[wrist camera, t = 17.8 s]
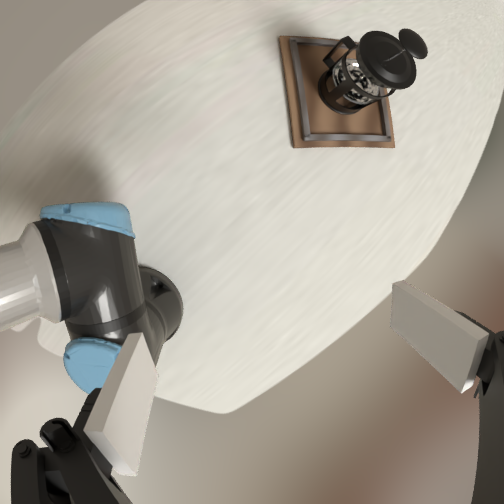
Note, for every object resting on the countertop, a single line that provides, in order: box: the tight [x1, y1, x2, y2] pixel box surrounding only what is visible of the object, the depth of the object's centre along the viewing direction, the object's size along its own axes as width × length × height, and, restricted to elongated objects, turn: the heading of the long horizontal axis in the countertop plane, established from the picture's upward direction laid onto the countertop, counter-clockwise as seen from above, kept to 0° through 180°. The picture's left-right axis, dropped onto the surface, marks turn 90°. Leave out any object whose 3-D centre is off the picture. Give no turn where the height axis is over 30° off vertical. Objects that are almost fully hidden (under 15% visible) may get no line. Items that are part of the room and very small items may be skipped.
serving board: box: [279, 36, 395, 148], centre depth 42 cm, size 20×22×2 cm
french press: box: [318, 29, 428, 115], centre depth 31 cm, size 12×9×23 cm
